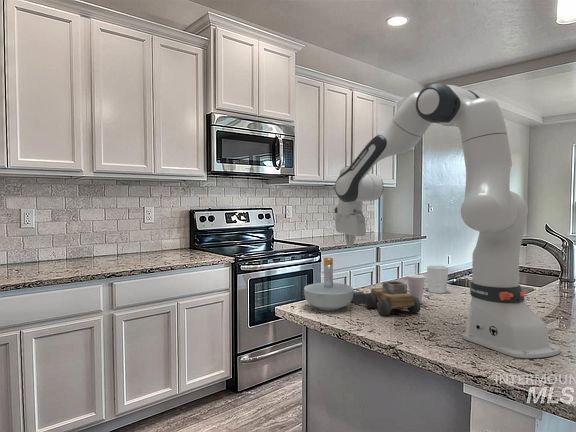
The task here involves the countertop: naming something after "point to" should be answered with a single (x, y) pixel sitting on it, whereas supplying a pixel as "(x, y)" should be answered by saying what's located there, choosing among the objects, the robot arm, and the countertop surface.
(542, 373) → the countertop surface
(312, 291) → the cereal bowl
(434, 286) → the white cup
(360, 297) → the dark grey cube
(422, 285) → the smoothie
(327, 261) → the grey and orange cylinder
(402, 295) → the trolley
